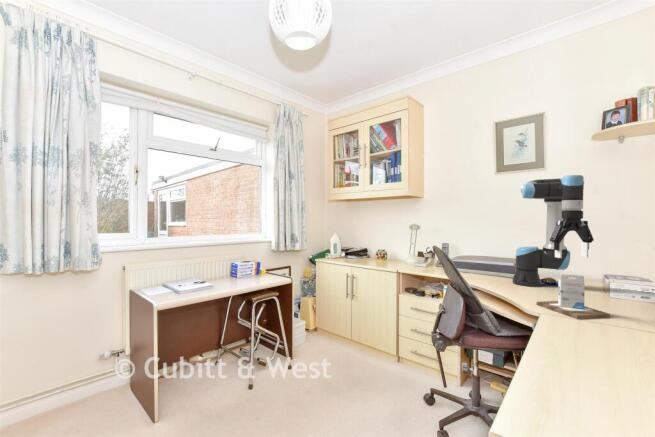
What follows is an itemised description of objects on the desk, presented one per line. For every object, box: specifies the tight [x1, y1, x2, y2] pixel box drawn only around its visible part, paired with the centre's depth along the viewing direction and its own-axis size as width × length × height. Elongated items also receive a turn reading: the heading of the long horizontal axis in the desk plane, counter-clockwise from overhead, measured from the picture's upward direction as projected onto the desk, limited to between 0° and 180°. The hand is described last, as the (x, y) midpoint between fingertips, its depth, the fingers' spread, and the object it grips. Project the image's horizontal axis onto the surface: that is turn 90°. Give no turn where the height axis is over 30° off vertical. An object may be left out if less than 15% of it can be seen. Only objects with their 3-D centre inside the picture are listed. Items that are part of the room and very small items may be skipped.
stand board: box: [535, 300, 611, 320], centre depth 135 cm, size 20×16×2 cm
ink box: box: [557, 273, 585, 309], centre depth 135 cm, size 9×5×15 cm, turn 62°
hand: (571, 257), depth 135 cm, fingers open, 13 cm apart
